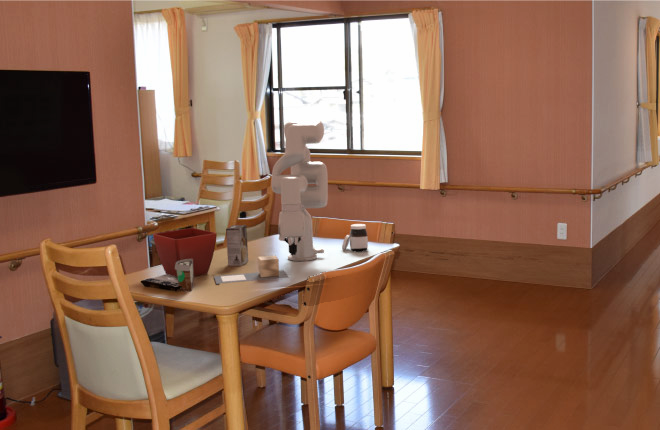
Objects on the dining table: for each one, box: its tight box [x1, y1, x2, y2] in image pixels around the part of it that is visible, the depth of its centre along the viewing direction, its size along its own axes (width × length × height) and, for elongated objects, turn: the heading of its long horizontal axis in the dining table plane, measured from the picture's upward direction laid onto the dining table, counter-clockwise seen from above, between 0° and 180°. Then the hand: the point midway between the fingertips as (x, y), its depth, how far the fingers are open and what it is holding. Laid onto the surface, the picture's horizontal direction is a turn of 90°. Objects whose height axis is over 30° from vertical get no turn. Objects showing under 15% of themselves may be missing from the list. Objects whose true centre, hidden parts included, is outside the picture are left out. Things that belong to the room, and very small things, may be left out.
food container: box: [175, 259, 195, 292], centre depth 275 cm, size 12×6×10 cm, turn 5°
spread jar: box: [341, 223, 369, 253], centre depth 335 cm, size 12×11×12 cm
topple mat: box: [213, 269, 290, 286], centre depth 288 cm, size 28×13×1 cm, turn 103°
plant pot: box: [152, 227, 217, 279], centre depth 298 cm, size 19×19×17 cm
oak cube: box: [257, 255, 280, 278], centre depth 289 cm, size 7×7×7 cm
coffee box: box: [225, 224, 249, 267], centre depth 314 cm, size 9×6×16 cm
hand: (293, 254), depth 290 cm, fingers closed
